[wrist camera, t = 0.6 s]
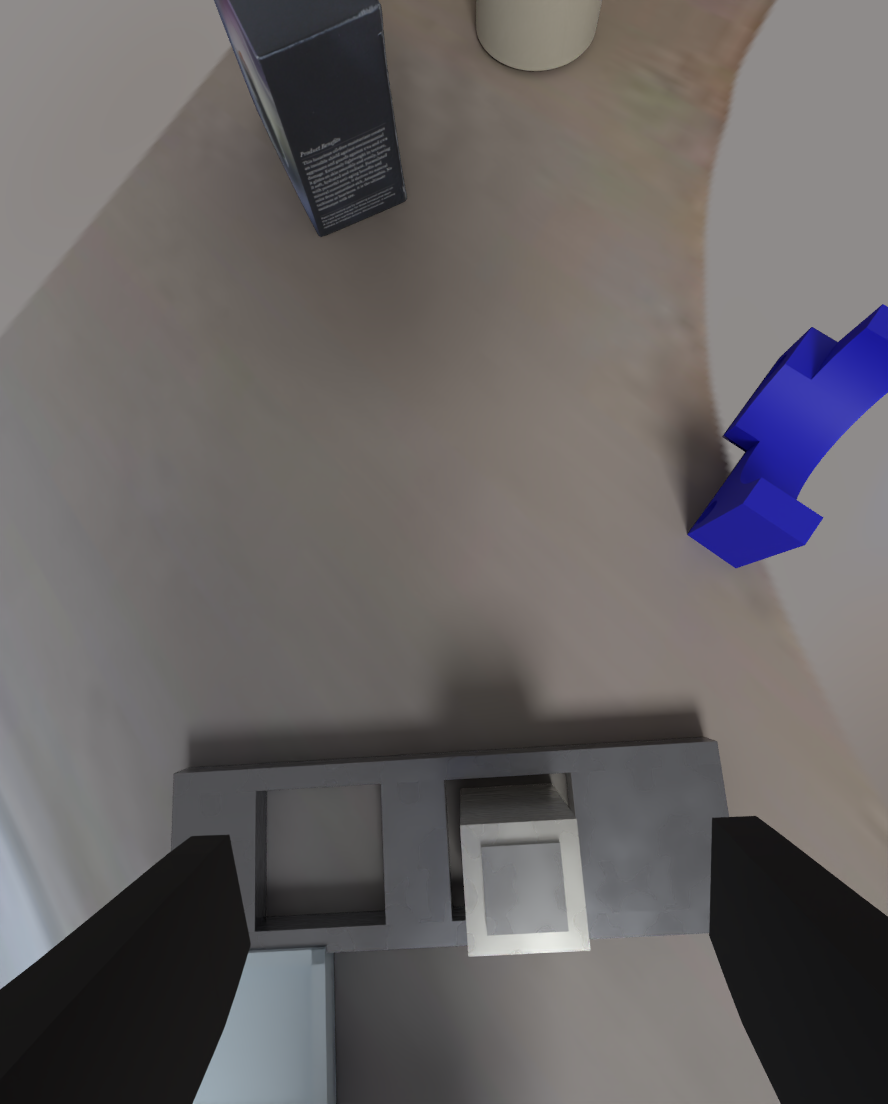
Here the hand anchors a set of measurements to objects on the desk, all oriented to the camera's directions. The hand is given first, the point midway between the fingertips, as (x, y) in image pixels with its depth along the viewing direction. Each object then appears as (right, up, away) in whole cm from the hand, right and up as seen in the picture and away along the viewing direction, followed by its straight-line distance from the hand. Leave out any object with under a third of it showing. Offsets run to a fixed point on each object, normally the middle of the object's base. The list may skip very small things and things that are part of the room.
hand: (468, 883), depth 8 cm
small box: (-8, +30, +26) cm, 41 cm away
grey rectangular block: (+3, -9, +18) cm, 20 cm away
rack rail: (0, -9, +18) cm, 20 cm away
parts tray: (-10, -18, +17) cm, 26 cm away
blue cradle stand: (+17, +10, +22) cm, 29 cm away
